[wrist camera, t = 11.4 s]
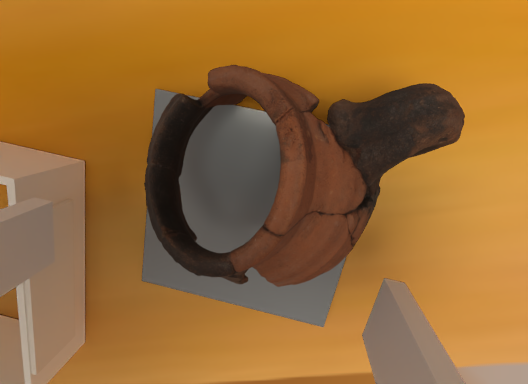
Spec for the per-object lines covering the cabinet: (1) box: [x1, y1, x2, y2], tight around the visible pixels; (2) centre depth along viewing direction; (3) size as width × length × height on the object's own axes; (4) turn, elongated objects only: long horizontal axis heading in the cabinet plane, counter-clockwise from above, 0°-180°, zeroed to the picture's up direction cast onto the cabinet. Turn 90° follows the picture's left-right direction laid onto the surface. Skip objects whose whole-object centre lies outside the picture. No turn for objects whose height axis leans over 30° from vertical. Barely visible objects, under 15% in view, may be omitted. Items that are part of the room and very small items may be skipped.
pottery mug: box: [145, 65, 465, 287], centre depth 12 cm, size 12×9×8 cm
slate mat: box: [142, 89, 346, 327], centre depth 17 cm, size 12×12×1 cm
